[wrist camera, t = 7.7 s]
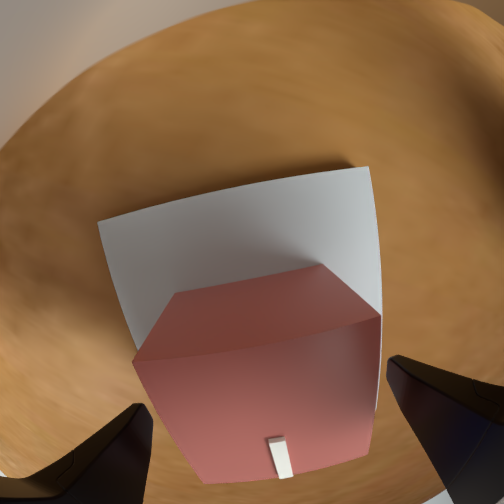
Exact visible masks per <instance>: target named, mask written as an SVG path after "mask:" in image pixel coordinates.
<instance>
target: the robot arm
mask: <svg viewBox="0 0 504 504" xmlns="http://www.w3.org/2000/svg"><path fill="white" fill-rule="evenodd" d="M386 377H387V381H388V383H389V385H390V387H391V390H392V392H393V394H394V396H395V398H396V401H397V403H398V405H399V407H400V409H401V411H402V413H403V415H404V416H405V418H406V420H407V421H408V423H409V425H410V426H411V428H412V430H413V431H414V433H415V435H416V436H417V438H418V440H419V441H420V443H421V445H422V447H423V448H424V450H425V452H426V453H427V455H428V457H429V459H430V460H431V462H432V464H433V466H434V468H435V469H436V471H437V473H438V475H439V476H440V478H441V480H442V482H443V484H444V486H445V488H446V489H447V491H448V493H449V495H450V497H451V499H452V501H453V503H454V504H504V387H503V386H498V385H493V384H489V383H485V382H481V381H478V380H475V379H473V380H472V379H471V378H468V377H465V376H461V375H458V374H455V373H452V372H449V371H446V370H443V369H440V368H436V367H433V366H430V365H427V364H425V363H422V362H419V361H416V360H413V359H410V358H407V357H404V356H401V355H395V356H392V357H390V358H389V359H388V361H387V372H386ZM152 434H153V419H152V416H151V415H150V413H149V411H148V410H147V408H146V406H145V405H144V404H143V403H133V404H132V405H131V406H129V407H128V408H127V409H126V410H124V411H123V412H122V413H120V414H119V415H118V416H117V417H115V418H114V419H113V420H112V421H110V422H109V423H108V424H106V425H105V426H104V427H103V428H101V429H100V430H99V431H97V432H96V433H95V434H93V435H92V436H91V437H89V438H88V439H87V440H85V441H84V442H83V443H81V444H80V445H79V446H77V447H76V448H75V449H74V450H72V451H70V452H69V453H68V454H66V455H65V456H63V457H62V458H60V459H59V460H57V461H56V462H54V463H52V464H51V465H49V466H47V467H45V468H44V469H42V470H40V471H38V472H36V473H35V474H33V475H31V476H29V477H26V478H19V479H17V478H8V477H2V476H0V504H143V498H144V491H145V485H146V480H147V474H148V468H149V463H150V457H151V448H152Z"/></svg>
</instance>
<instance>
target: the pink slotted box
mask: <svg viewBox="0 0 504 504" xmlns="http://www.w3.org/2000/svg"><path fill="white" fill-rule="evenodd" d="M380 349H381V315H380V314H379V313H378V312H377V311H376V310H375V309H374V308H373V307H372V306H370V305H369V304H368V303H367V302H366V301H365V300H364V299H363V298H361V297H360V296H359V295H358V294H357V293H356V292H355V291H354V290H352V289H351V288H350V287H349V286H348V285H347V284H346V283H344V282H343V281H342V280H341V279H340V278H339V277H338V276H336V275H335V274H334V273H333V272H332V271H331V270H329V269H328V268H327V267H326V266H325V265H324V264H320V265H315V266H310V267H306V268H301V269H296V270H291V271H286V272H282V273H277V274H272V275H267V276H262V277H257V278H252V279H247V280H242V281H236V282H231V283H226V284H221V285H215V286H210V287H205V288H199V289H194V290H188V291H183V292H177V293H174V295H173V296H172V298H171V299H170V301H169V303H168V304H167V306H166V307H165V309H164V310H163V312H162V314H161V315H160V317H159V318H158V320H157V321H156V323H155V325H154V326H153V328H152V329H151V331H150V333H149V334H148V336H147V337H146V339H145V341H144V342H143V344H142V346H141V347H140V349H139V351H138V352H137V354H136V356H135V357H134V359H133V361H132V364H133V366H134V368H135V370H136V372H137V374H138V376H139V379H140V381H141V383H142V385H143V387H144V389H145V391H146V393H147V394H148V396H149V398H150V400H151V402H152V404H153V406H154V408H155V409H156V411H157V413H158V415H159V417H160V418H161V420H162V422H163V423H164V425H165V427H166V429H167V430H168V432H169V433H170V435H171V437H172V438H173V440H174V442H175V443H176V445H177V446H178V448H179V449H180V451H181V452H182V454H183V455H184V457H185V458H186V460H187V461H188V463H189V464H190V465H191V467H192V468H193V470H194V471H195V472H196V474H197V475H198V477H199V478H200V479H201V481H202V482H203V483H204V484H214V483H234V482H246V481H256V480H264V479H271V478H277V477H279V478H280V479H282V478H288V477H293V475H294V474H299V473H304V472H309V471H313V470H317V469H321V468H325V467H329V466H332V465H336V464H339V463H343V462H346V461H349V460H352V459H355V458H358V457H361V456H364V455H367V454H368V451H369V446H370V440H371V435H372V429H373V422H374V415H375V408H376V399H377V390H378V380H379V367H380Z"/></svg>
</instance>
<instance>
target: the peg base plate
mask: <svg viewBox="0 0 504 504" xmlns="http://www.w3.org/2000/svg"><path fill="white" fill-rule="evenodd" d="M97 223H98V228H99V232H100V237H101V241H102V245H103V249H104V252H105V256H106V260H107V264H108V267H109V271H110V274H111V277H112V281H113V284H114V287H115V290H116V293H117V296H118V299H119V302H120V305H121V308H122V311H123V314H124V317H125V319H126V322H127V325H128V327H129V330H130V332H131V335H132V338H133V340H134V343H135V345H136V347H137V350H138V351H139V349H140V347H141V346H142V344H143V342H144V341H145V339H146V337H147V336H148V334H149V333H150V331H151V329H152V328H153V326H154V325H155V323H156V321H157V320H158V318H159V317H160V315H161V314H162V312H163V310H164V309H165V307H166V306H167V304H168V303H169V301H170V299H171V298H172V296H173V295H174V293H177V292H183V291H188V290H194V289H199V288H205V287H210V286H215V285H221V284H226V283H231V282H236V281H242V280H247V279H252V278H257V277H262V276H267V275H272V274H277V273H282V272H286V271H291V270H296V269H301V268H306V267H310V266H315V265H320V264H324V265H325V266H326V267H327V268H328V269H329V270H331V271H332V272H333V273H334V274H335V275H336V276H338V277H339V278H340V279H341V280H342V281H343V282H344V283H346V284H347V285H348V286H349V287H350V288H351V289H352V290H354V291H355V292H356V293H357V294H358V295H359V296H360V297H361V298H363V299H364V300H365V301H366V302H367V303H368V304H369V305H370V306H372V307H373V308H374V309H375V310H376V311H377V312H378V313H379V314H380V315H381V345H382V283H381V263H380V249H379V238H378V228H377V219H376V211H375V203H374V196H373V190H372V183H371V177H370V172H369V166H367V167H358V168H349V169H341V170H334V171H326V172H319V173H312V174H306V175H299V176H293V177H287V178H281V179H275V180H270V181H264V182H259V183H253V184H248V185H243V186H238V187H233V188H228V189H224V190H219V191H214V192H210V193H205V194H201V195H196V196H192V197H188V198H184V199H180V200H175V201H171V202H167V203H164V204H160V205H156V206H152V207H148V208H144V209H141V210H137V211H134V212H130V213H126V214H123V215H119V216H116V217H113V218H109V219H106V220H103V221H99V222H97ZM380 364H381V349H380ZM379 377H380V367H379ZM378 388H379V380H378ZM377 398H378V390H377ZM376 406H377V399H376ZM375 410H376V408H375Z"/></svg>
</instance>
